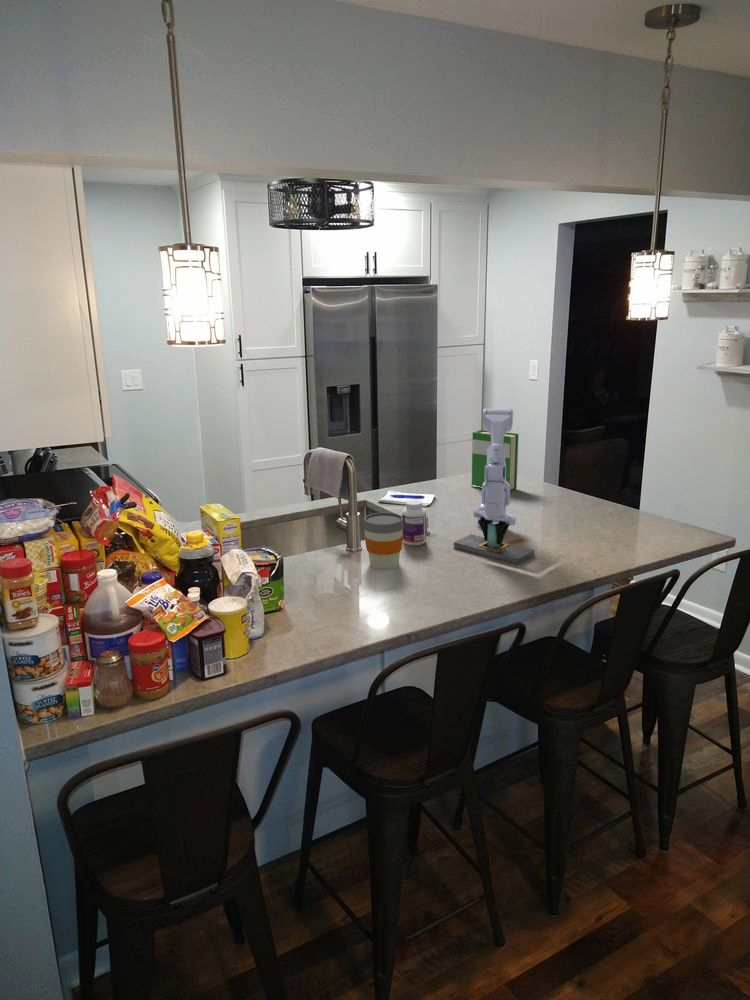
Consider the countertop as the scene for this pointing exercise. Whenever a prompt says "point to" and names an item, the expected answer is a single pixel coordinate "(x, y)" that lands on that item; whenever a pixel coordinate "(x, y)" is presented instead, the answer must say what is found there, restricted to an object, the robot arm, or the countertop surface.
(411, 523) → the pill bottle
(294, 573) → the countertop surface
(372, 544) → the reusable coffee cup
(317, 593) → the countertop surface
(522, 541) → the brown square coaster
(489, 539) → the peg
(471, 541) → the grey peg hole board
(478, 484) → the hardback book
